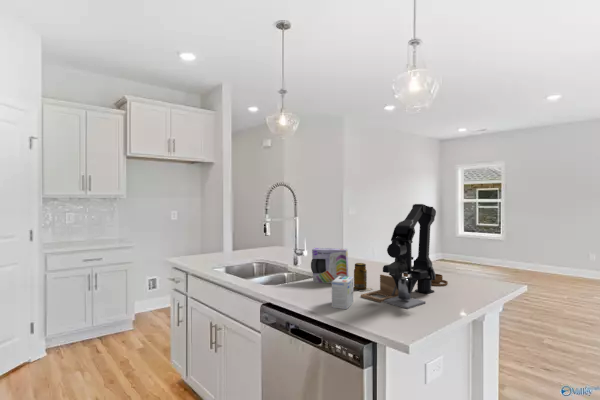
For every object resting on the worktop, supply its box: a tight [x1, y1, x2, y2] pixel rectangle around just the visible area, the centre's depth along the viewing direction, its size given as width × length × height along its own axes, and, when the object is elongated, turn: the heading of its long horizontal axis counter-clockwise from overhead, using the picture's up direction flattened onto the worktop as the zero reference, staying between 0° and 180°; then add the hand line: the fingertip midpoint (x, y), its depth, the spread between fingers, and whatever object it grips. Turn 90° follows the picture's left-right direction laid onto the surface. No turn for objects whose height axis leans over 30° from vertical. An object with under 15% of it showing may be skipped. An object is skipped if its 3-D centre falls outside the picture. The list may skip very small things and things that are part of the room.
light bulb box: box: [331, 276, 354, 310], centre depth 149 cm, size 11×7×11 cm, turn 159°
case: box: [360, 274, 398, 303], centre depth 161 cm, size 14×11×8 cm
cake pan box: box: [310, 247, 350, 284], centre depth 188 cm, size 19×5×18 cm, turn 71°
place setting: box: [402, 273, 449, 287], centre depth 188 cm, size 18×20×6 cm
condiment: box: [353, 262, 373, 292], centre depth 175 cm, size 7×8×12 cm
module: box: [398, 275, 412, 300], centre depth 152 cm, size 5×5×9 cm
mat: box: [383, 296, 426, 310], centre depth 152 cm, size 12×12×1 cm
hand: (404, 292), depth 152 cm, fingers closed on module, 5 cm apart
